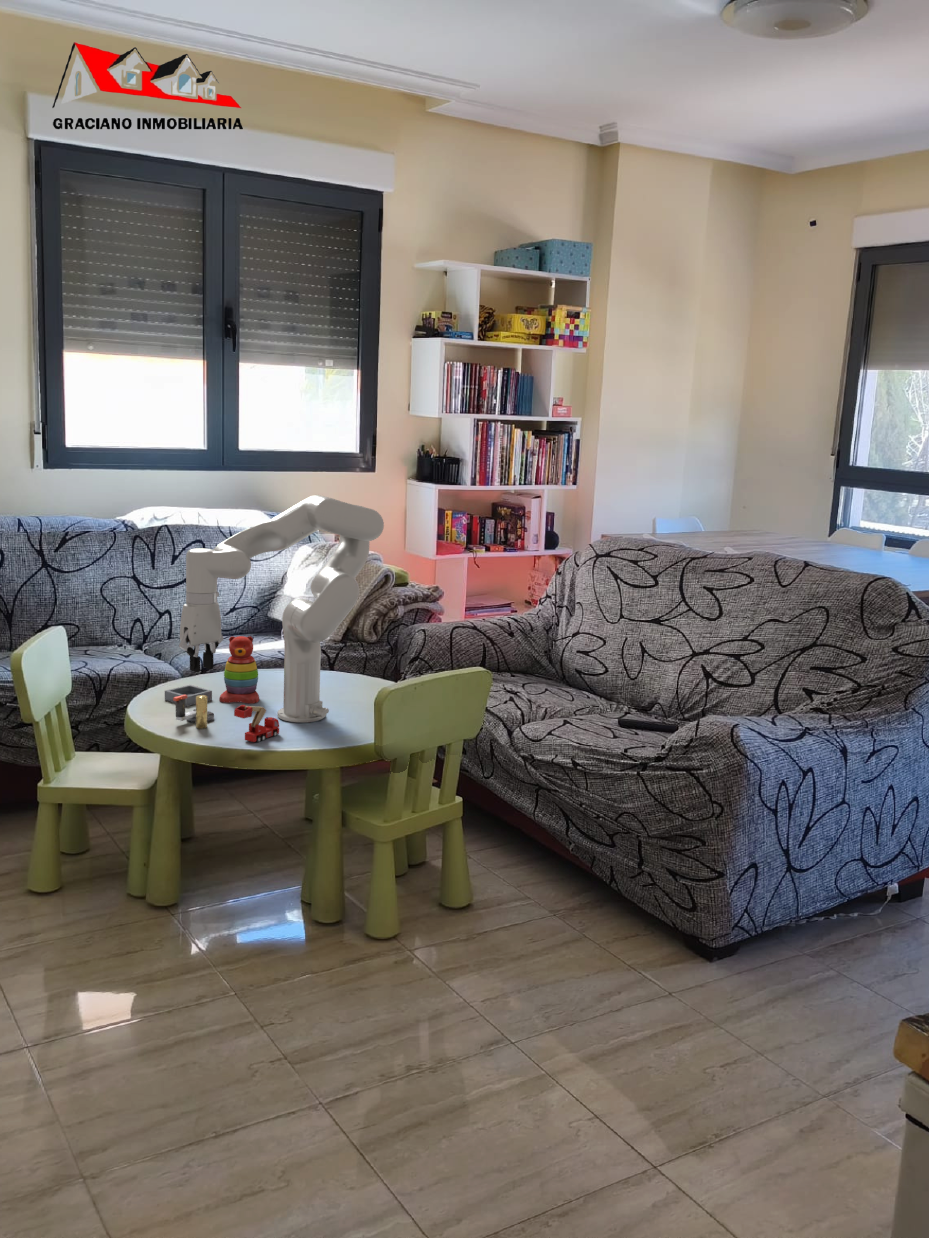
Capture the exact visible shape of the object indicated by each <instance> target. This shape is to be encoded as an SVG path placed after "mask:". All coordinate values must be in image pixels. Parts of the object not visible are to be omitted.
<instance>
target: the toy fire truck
mask: <svg viewBox="0 0 929 1238" xmlns="http://www.w3.org/2000/svg"><path fill="white" fill-rule="evenodd" d="M253 712H255V714H254V716H253V719H252V722H249V723H248V731H246V732H244V740H245V741H246V742H247V741H248V742H251V743H256V742H257V743H260V742H261V741H265V740H266V739H269V738H271V737H277V736H278V735H279V734H280V721H279V719H278V718H276V717H271V716H270V717H269V716H266V717H265V718H264V716H265V714H266V713H267V709H266V708H265V707H264V706H260V705H259V706H253V705H251V706H250V705H246V704H241V705H239V706H237V707H236V708H234V712H233V713H234V714H233V716H234V717H236V718H240V719H247V718H251V717H252V715H253ZM263 718H264V721H263V722H264V725H261V724H260V723H261V721H262V720H263Z"/></svg>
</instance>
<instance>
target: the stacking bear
mask: <svg viewBox="0 0 929 1238" xmlns="http://www.w3.org/2000/svg"><path fill="white" fill-rule="evenodd" d="M228 641H229V645H228V650H229V653H230V655H231V656H229V657H228V658H227V661H226V663H225V667H224V668H225V669H224V671H223V680H224V684H225V688H226V690H225V691H223V692H222V693H221V694H220V696H219V698H218V700H219V702H220V703H225V704H228V703H242V704H243V703H244V704H251V705H252V704H257V703H259V701H260V696H259V693H258V691H257V687H258V681H259V670H258V668H257V662H256V660H255V658H254V656H253V655H252V654H253V651H254V643H253V642H254V637H252V636H250V635H249V636H243V635H242V636H232V635H231V636H230V637H229V639H228Z"/></svg>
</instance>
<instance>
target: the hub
mask: <svg viewBox="0 0 929 1238" xmlns="http://www.w3.org/2000/svg"><path fill="white" fill-rule="evenodd" d="M214 720H215V713H214V712H211V711H210V710H209V711H208V710H207V723H210V722H212V721H214ZM186 721H187V722H189V723H193V724H194V723H195V724H196V717H193V718H190V719H187V720H186Z"/></svg>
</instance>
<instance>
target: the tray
mask: <svg viewBox="0 0 929 1238" xmlns="http://www.w3.org/2000/svg"><path fill="white" fill-rule="evenodd" d="M181 695H187V698H186V699H185V707H189V706H193V705H196V696H199V695H205V696H207V702H209V701H212V700H213V690H211V689H206V688H204V687H203V688H202V687H199V686H195V685H192V684H188V685H182V686H180V687H175V688H171V689H166V690H164V700H165V701H168V702H170V703H175V704H176V701H173V698H174V697H177V696H181Z"/></svg>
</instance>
